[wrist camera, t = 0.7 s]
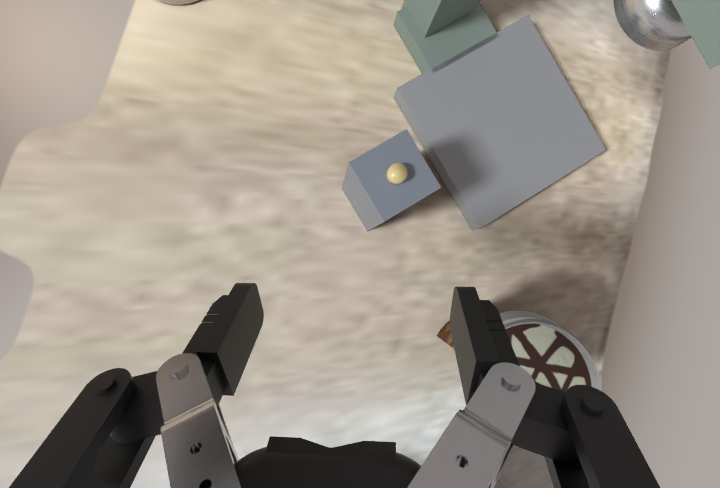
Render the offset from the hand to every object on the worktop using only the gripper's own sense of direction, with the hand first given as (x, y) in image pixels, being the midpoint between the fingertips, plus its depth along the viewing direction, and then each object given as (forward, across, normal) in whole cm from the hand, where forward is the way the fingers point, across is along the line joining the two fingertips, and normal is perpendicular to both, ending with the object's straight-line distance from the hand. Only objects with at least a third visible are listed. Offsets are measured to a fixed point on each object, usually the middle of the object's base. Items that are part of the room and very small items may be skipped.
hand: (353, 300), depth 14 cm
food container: (+16, -12, +18) cm, 27 cm away
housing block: (+22, 0, +6) cm, 22 cm away
